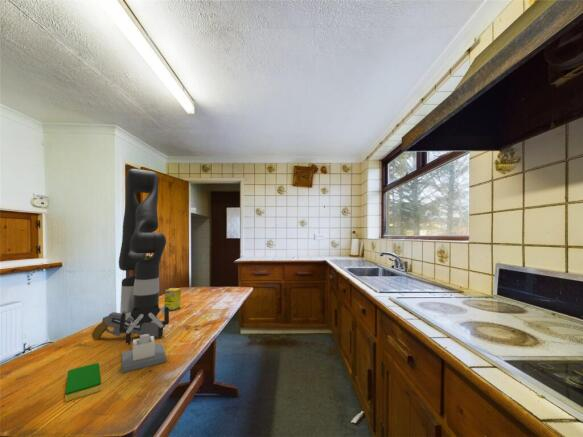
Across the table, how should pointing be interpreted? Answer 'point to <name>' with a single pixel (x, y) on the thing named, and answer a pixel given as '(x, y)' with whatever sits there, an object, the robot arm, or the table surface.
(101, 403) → the table surface
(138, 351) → the ring
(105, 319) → the gun
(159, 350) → the post stand
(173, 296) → the supplement box
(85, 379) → the dish sponge
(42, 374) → the table surface
